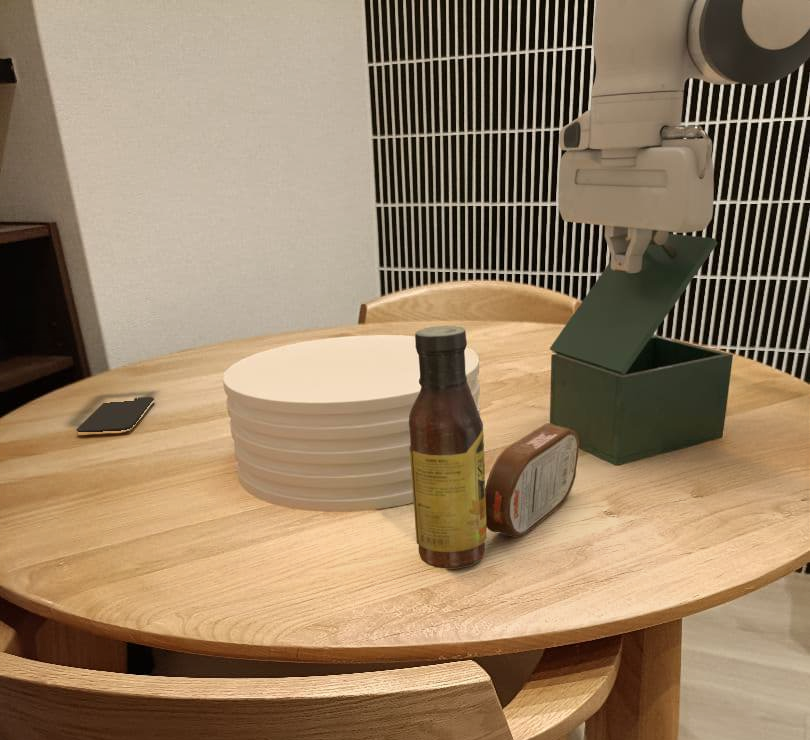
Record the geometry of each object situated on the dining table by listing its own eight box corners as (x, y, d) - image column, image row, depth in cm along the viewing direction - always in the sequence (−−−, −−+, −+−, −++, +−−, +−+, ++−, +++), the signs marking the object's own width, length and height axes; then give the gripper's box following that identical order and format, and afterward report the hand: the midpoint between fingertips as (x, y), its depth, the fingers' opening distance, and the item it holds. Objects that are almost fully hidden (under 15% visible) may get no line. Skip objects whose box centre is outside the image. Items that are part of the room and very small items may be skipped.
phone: (156, 396, 122) (129, 427, 108) (157, 401, 122) (130, 433, 109) (106, 399, 122) (73, 431, 108) (107, 404, 122) (74, 437, 109)
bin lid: (636, 234, 94) (613, 206, 92) (718, 243, 84) (695, 212, 81) (553, 352, 96) (528, 328, 93) (624, 375, 85) (598, 349, 83)
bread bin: (649, 410, 106) (655, 334, 101) (723, 437, 96) (733, 354, 91) (549, 434, 100) (551, 354, 96) (616, 465, 90) (621, 377, 85)
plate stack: (450, 413, 109) (448, 326, 104) (510, 493, 84) (510, 384, 79) (239, 436, 106) (225, 347, 101) (236, 526, 81) (218, 415, 76)
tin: (554, 489, 85) (556, 410, 81) (582, 494, 83) (586, 415, 79) (479, 546, 74) (478, 459, 70) (510, 554, 72) (511, 465, 69)
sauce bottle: (497, 565, 71) (496, 334, 62) (429, 578, 69) (417, 344, 61) (471, 534, 76) (466, 318, 68) (407, 545, 75) (393, 327, 66)
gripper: (738, 122, 75) (720, 279, 81) (596, 129, 91) (590, 258, 97) (685, 125, 72) (671, 287, 78) (549, 132, 89) (546, 265, 95)
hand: (625, 271), depth 88 cm, fingers closed
